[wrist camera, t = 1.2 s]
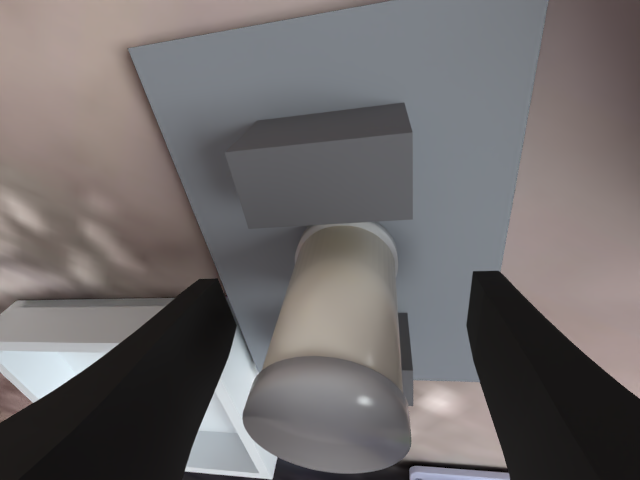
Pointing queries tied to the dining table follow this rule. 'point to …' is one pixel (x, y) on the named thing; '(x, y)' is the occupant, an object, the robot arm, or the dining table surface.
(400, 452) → the fuse
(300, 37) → the fuse panel
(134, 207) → the dining table surface
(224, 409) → the parts tray
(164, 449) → the robot arm
